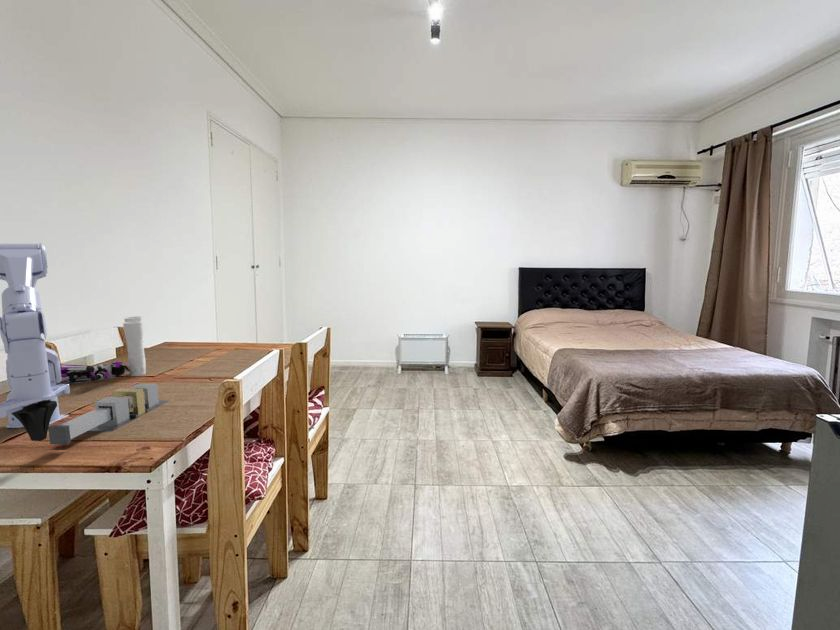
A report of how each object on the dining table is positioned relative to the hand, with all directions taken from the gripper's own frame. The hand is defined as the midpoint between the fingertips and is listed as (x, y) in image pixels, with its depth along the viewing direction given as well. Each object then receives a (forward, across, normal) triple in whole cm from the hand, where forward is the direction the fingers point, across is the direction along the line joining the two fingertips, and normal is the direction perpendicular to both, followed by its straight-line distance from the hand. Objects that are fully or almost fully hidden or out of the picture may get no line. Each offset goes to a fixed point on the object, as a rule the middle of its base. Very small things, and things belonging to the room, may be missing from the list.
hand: (39, 439), depth 89 cm
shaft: (+3, +14, 0) cm, 14 cm away
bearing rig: (+5, +25, 0) cm, 25 cm away
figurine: (+5, +52, +38) cm, 64 cm away
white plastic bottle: (+5, +66, +29) cm, 72 cm away
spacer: (+4, +25, 0) cm, 25 cm away
